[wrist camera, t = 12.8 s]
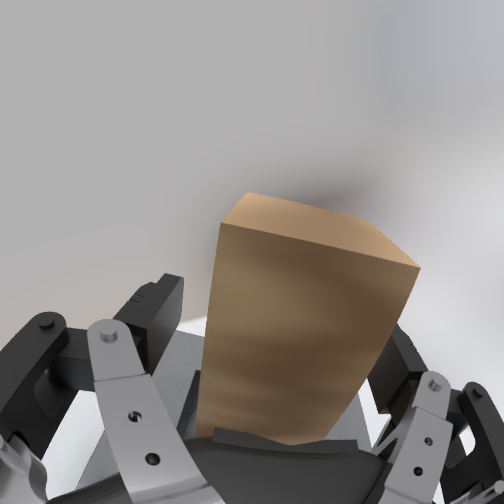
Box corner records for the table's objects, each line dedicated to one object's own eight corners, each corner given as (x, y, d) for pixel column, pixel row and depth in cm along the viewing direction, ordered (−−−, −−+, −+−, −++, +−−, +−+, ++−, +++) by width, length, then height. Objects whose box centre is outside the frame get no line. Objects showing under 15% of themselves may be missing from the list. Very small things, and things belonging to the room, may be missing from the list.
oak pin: (191, 482, 10) (221, 222, 5) (207, 425, 14) (247, 191, 9) (272, 496, 10) (420, 267, 5) (276, 438, 14) (366, 219, 9)
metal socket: (72, 513, 6) (33, 486, 4) (146, 364, 19) (143, 314, 17) (364, 555, 6) (418, 537, 4) (341, 399, 19) (367, 356, 17)
